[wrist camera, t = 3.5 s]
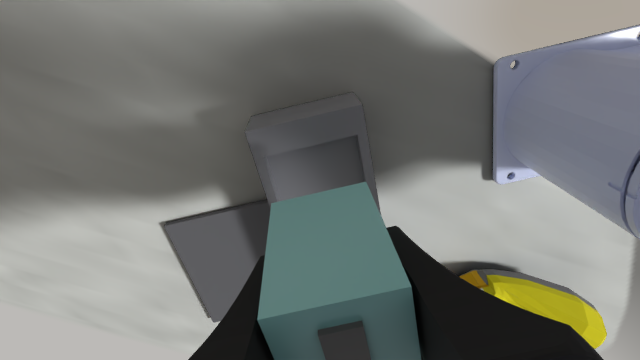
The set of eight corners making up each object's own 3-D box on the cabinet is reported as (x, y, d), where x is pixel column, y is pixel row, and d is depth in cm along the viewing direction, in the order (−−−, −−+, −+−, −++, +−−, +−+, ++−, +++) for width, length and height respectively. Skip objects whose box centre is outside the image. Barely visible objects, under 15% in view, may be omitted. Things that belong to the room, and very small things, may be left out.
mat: (269, 198, 22) (269, 201, 22) (302, 298, 26) (302, 302, 26) (166, 222, 22) (164, 226, 22) (214, 318, 26) (213, 322, 26)
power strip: (251, 116, 20) (243, 136, 16) (352, 91, 20) (364, 107, 16) (313, 311, 27) (316, 352, 24) (388, 294, 27) (401, 333, 23)
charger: (366, 181, 14) (413, 292, 8) (379, 257, 16) (426, 390, 10) (271, 203, 14) (256, 326, 9) (295, 275, 16) (296, 416, 10)
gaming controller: (570, 276, 27) (474, 233, 25) (631, 334, 22) (520, 287, 20) (457, 388, 33) (368, 362, 30) (486, 454, 28) (383, 430, 25)
